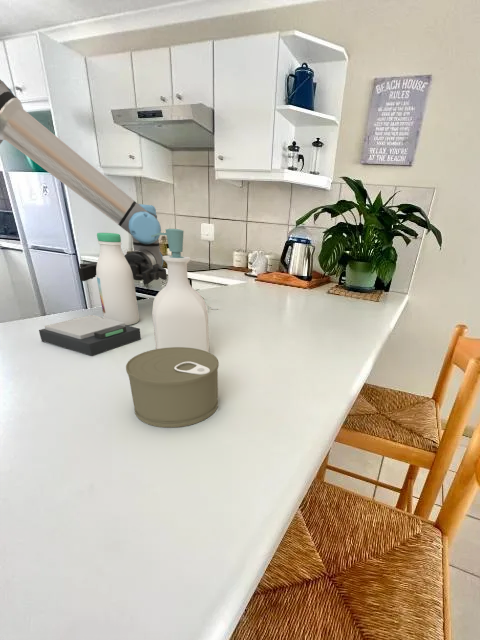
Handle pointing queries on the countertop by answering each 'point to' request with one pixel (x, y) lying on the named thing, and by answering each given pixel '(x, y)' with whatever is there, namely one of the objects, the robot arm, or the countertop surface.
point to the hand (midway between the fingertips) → (113, 276)
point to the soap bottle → (179, 303)
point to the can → (174, 386)
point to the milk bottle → (115, 281)
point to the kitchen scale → (89, 334)
